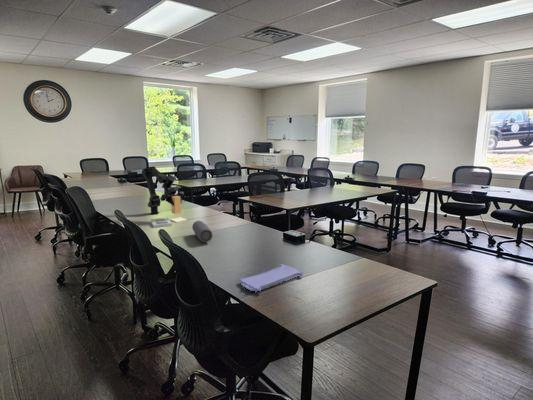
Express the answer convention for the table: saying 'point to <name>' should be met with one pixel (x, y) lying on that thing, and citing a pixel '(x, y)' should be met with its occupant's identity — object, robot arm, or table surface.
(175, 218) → the pad
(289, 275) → the light purple flat block
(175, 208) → the module
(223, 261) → the table surface
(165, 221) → the dock
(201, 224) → the bluetooth speaker
